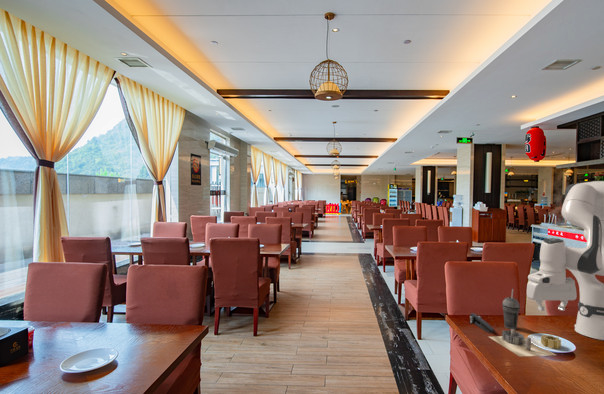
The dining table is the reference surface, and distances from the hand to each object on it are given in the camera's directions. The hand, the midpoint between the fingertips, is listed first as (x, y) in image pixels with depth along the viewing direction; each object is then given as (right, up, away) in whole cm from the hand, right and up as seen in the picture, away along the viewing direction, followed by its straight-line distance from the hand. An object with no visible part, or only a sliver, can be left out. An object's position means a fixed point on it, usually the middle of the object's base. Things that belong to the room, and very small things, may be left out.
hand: (551, 310), depth 137 cm
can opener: (-19, -16, +19) cm, 31 cm away
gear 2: (0, -16, 0) cm, 16 cm away
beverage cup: (-5, -16, +19) cm, 25 cm away
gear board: (-13, -16, 0) cm, 21 cm away
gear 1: (-14, -15, +4) cm, 20 cm away
